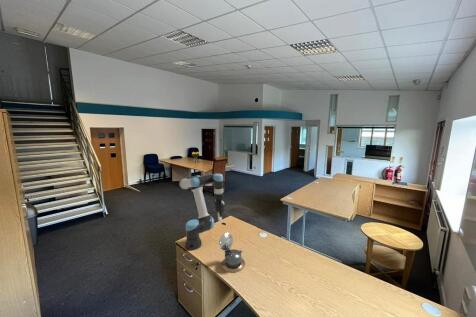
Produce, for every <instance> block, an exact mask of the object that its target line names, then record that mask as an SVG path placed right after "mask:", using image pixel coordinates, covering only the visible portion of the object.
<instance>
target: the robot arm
mask: <svg viewBox="0 0 476 317" xmlns="http://www.w3.org/2000/svg"><path fill="white" fill-rule="evenodd" d="M210 184H212V185H213V195H214V196H213V197H214V199H213V203H214V208H215V212H217V221H220V222H221V221H222V220H223V214H224V212H225V211H224V210H225V205H226V202H224V199H223V198H224V196H225V195H224V192H225V191H224V176H223V174H222V173H211V172H210V173H207V174H205V175H202V176H201V175H199V174H198V175H197V174H196V175H192V176H187V177H184V178H182V179H180V180H179V184H178V185H179V188H181V190H191V192H192V193H193V196H194V200H195V205H196V208H197V213H198V217H197V219H196V218H195V219H190V220H188V221H187V222H186V223H185V234H186V235H185V236H186V237H185V239H186V240H185V242H184V246H185V249H187V250H189V251H195V250H198V249H200V248H201V247H202V246H203V244H202V243H203V242H202V239H201V237H200V234H202V233H205V232H208V231H211V230H212V229H213V228H214V227H215V226H214V225H215V219H214V218H213V216H211V214H209V213H208V209H207V205H206V200H205V196H204V193H203V188H204V186H206V185H210Z"/></svg>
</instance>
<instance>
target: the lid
mask: <svg viewBox="0 0 476 317" xmlns="http://www.w3.org/2000/svg"><path fill="white" fill-rule="evenodd" d="M233 243H234V237H233V235H232V234H231V233H230V232H225V233H223V234H222V235H221V236H220V237H219V241H218V244H219V245H218V246H219V248H220V250H221V251H224V253H225V252H226V251H228V250H229V249H230V250H231V247H232V245H233Z"/></svg>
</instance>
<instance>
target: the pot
mask: <svg viewBox="0 0 476 317" xmlns="http://www.w3.org/2000/svg"><path fill="white" fill-rule="evenodd" d="M242 253H243V251H242V250H241V249H239V250H238V249H231V248H230V249H229V250H228V251H226V252H225V251H224V259H222V261H221V265H220V266H221V268H222V269H223V271H225V272H226V273H232V274H233V273H238V272H241V271H242V270H244V268H245V267H246V261H245V259H244V258H243V257H242Z"/></svg>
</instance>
